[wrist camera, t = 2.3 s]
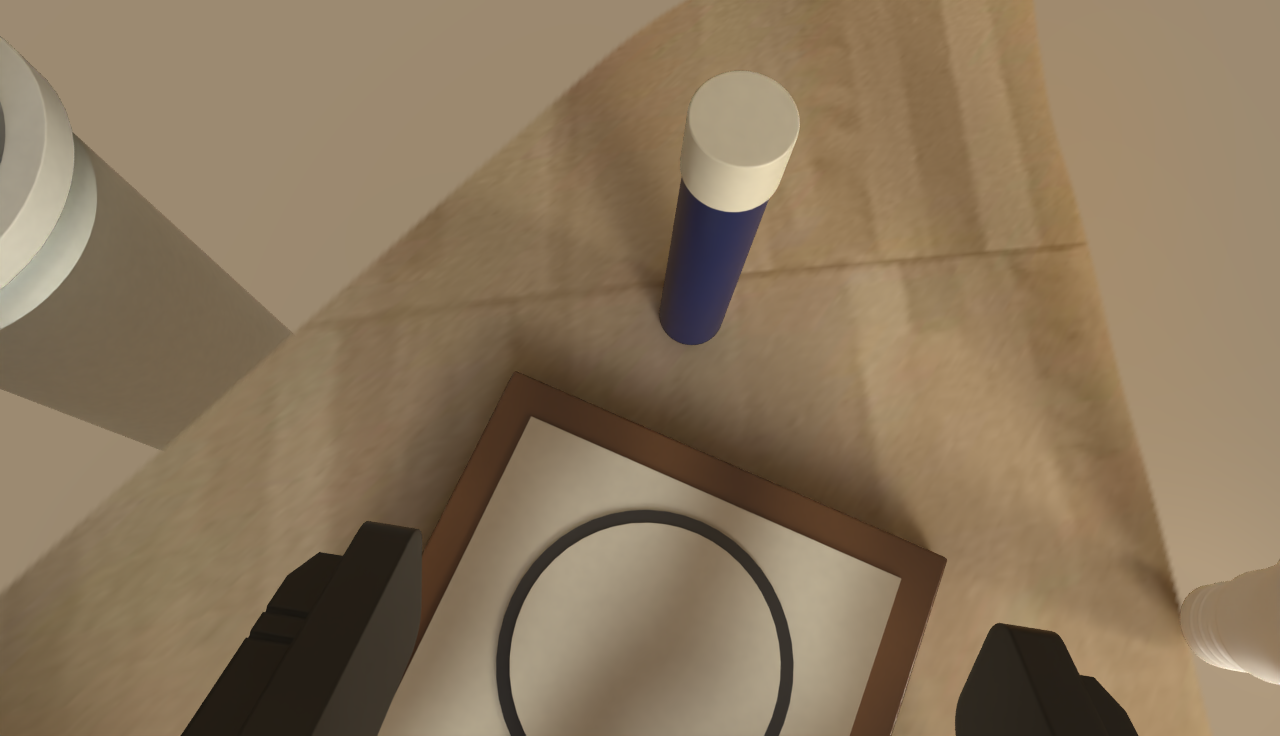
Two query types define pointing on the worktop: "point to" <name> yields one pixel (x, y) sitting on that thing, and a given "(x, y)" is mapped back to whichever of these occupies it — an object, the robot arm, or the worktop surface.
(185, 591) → the worktop surface
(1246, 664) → the lightbulb
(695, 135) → the cylinder
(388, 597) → the robot arm
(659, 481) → the picture frame
